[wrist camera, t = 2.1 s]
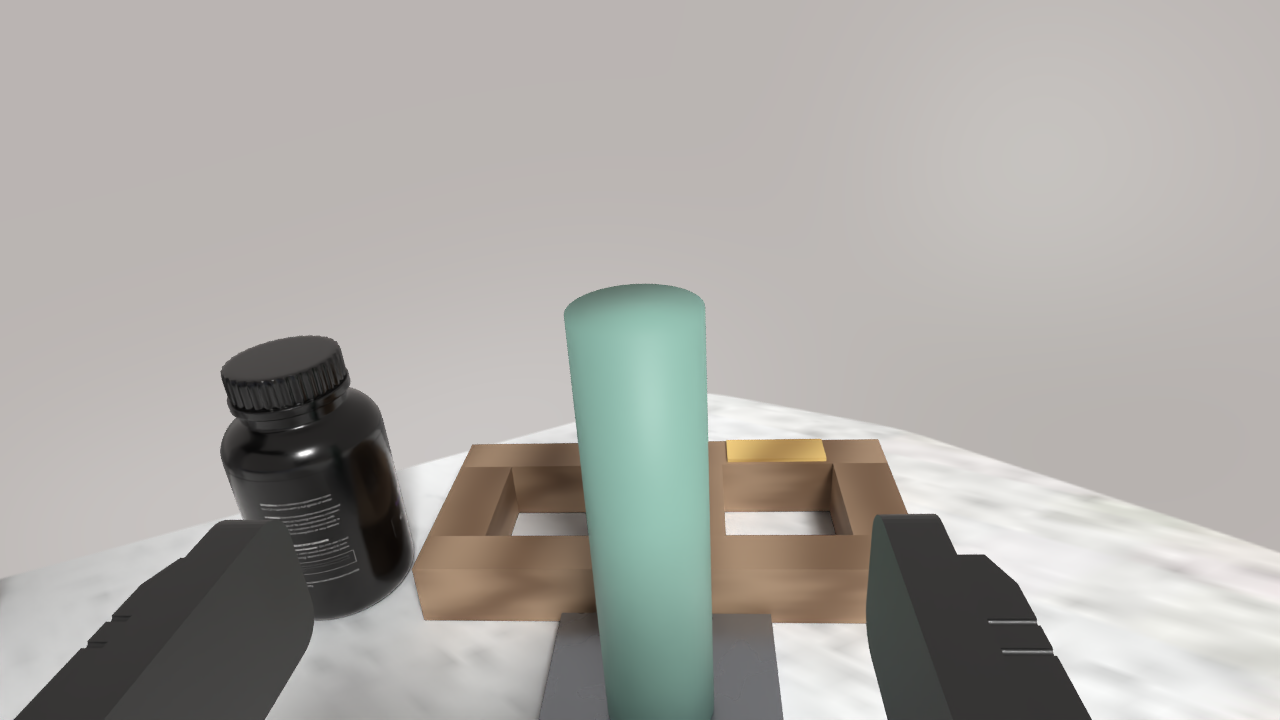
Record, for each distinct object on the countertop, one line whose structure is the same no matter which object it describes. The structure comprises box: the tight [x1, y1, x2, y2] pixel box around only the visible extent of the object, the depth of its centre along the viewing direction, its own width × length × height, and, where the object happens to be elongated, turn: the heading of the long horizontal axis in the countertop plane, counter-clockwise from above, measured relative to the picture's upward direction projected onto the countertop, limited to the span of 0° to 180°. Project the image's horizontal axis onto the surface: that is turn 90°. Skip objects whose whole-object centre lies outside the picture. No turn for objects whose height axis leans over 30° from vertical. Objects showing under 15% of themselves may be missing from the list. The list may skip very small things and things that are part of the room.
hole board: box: [412, 439, 908, 623], centre depth 37 cm, size 22×10×3 cm, turn 86°
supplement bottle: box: [220, 336, 414, 620], centre depth 35 cm, size 7×7×12 cm
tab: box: [539, 613, 783, 720], centre depth 29 cm, size 9×9×1 cm
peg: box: [564, 284, 714, 720], centre depth 25 cm, size 4×4×16 cm
